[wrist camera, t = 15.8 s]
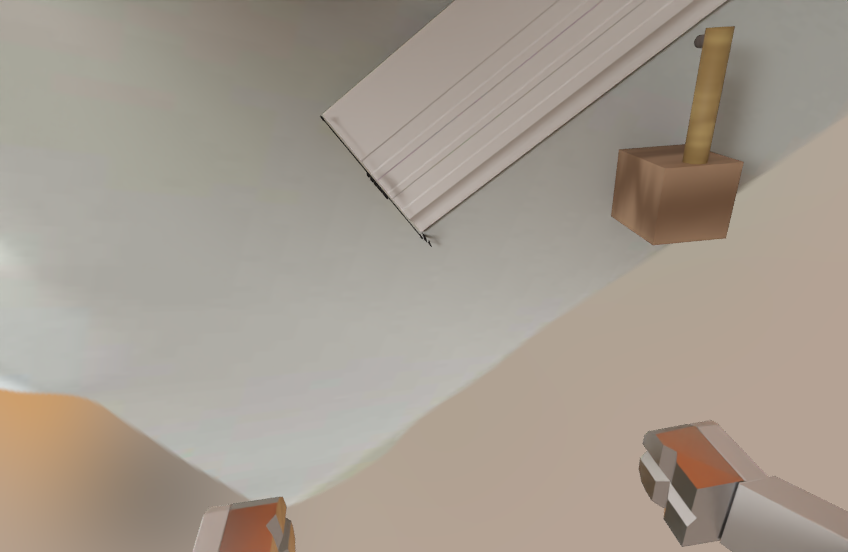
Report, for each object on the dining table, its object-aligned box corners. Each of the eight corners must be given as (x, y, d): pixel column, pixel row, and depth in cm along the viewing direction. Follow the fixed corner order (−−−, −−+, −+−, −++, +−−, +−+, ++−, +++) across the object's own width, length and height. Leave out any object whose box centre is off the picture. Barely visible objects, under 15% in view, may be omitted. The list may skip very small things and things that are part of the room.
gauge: (632, 32, 31) (688, 29, 26) (706, 27, 32) (775, 24, 26) (610, 216, 37) (652, 245, 31) (673, 210, 37) (725, 238, 32)
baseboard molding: (814, -45, 31) (752, -257, 26) (855, -54, 28) (795, -291, 24) (430, 242, 37) (322, 112, 32) (435, 257, 34) (318, 117, 29)
